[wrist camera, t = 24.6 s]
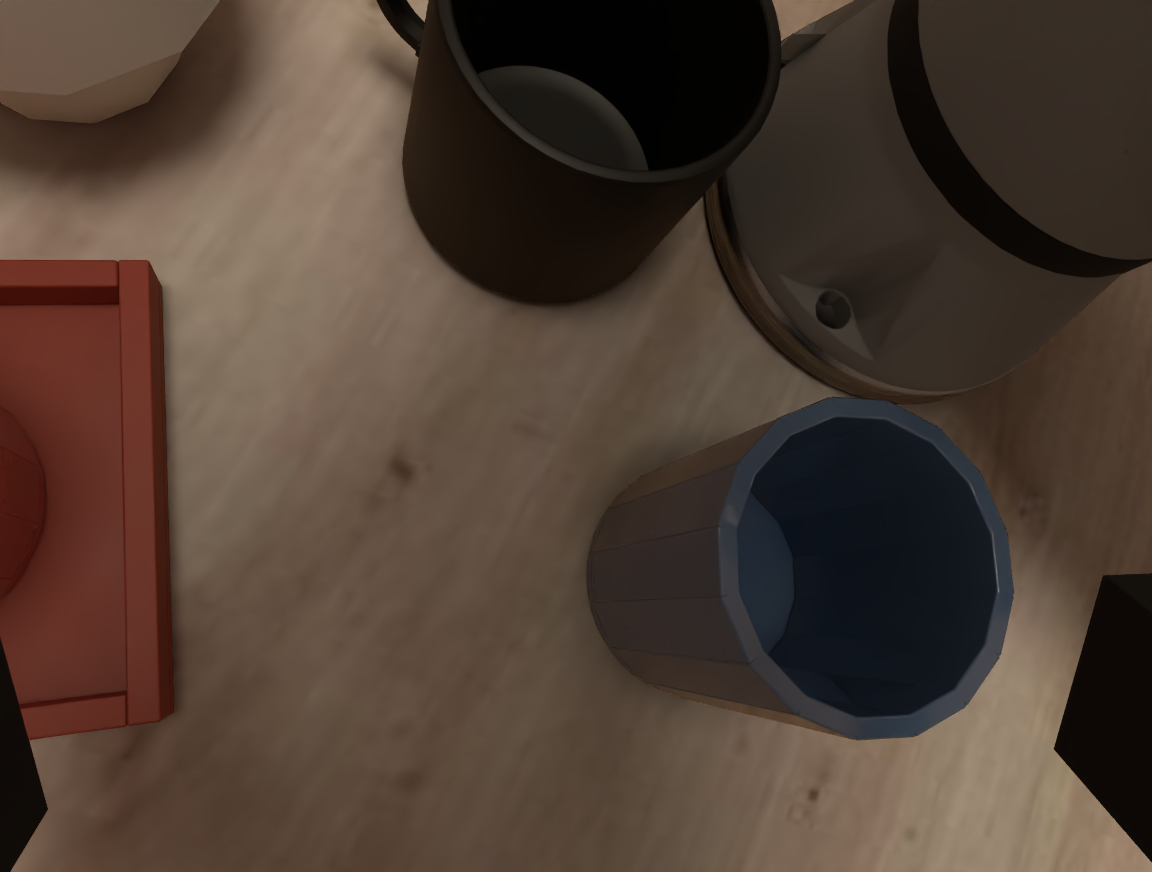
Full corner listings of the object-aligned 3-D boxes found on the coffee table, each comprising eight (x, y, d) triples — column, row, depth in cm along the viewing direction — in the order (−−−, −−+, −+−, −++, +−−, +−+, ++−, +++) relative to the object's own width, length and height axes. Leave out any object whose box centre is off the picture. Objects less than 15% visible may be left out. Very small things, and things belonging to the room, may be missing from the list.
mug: (439, -34, 31) (484, -279, 23) (703, 167, 33) (838, 10, 24) (277, 147, 28) (258, -56, 20) (576, 359, 30) (680, 257, 21)
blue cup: (744, 434, 31) (930, 356, 21) (831, 638, 30) (1062, 650, 21) (550, 512, 28) (665, 463, 19) (641, 738, 28) (806, 803, 18)
